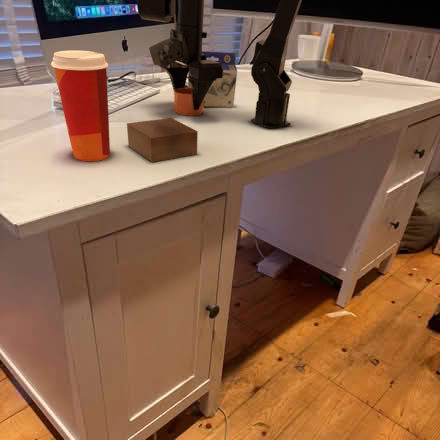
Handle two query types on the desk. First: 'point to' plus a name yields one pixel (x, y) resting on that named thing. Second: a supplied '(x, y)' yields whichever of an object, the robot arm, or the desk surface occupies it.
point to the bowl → (185, 102)
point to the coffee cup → (84, 102)
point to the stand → (162, 139)
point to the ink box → (221, 81)
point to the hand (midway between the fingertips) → (187, 105)
